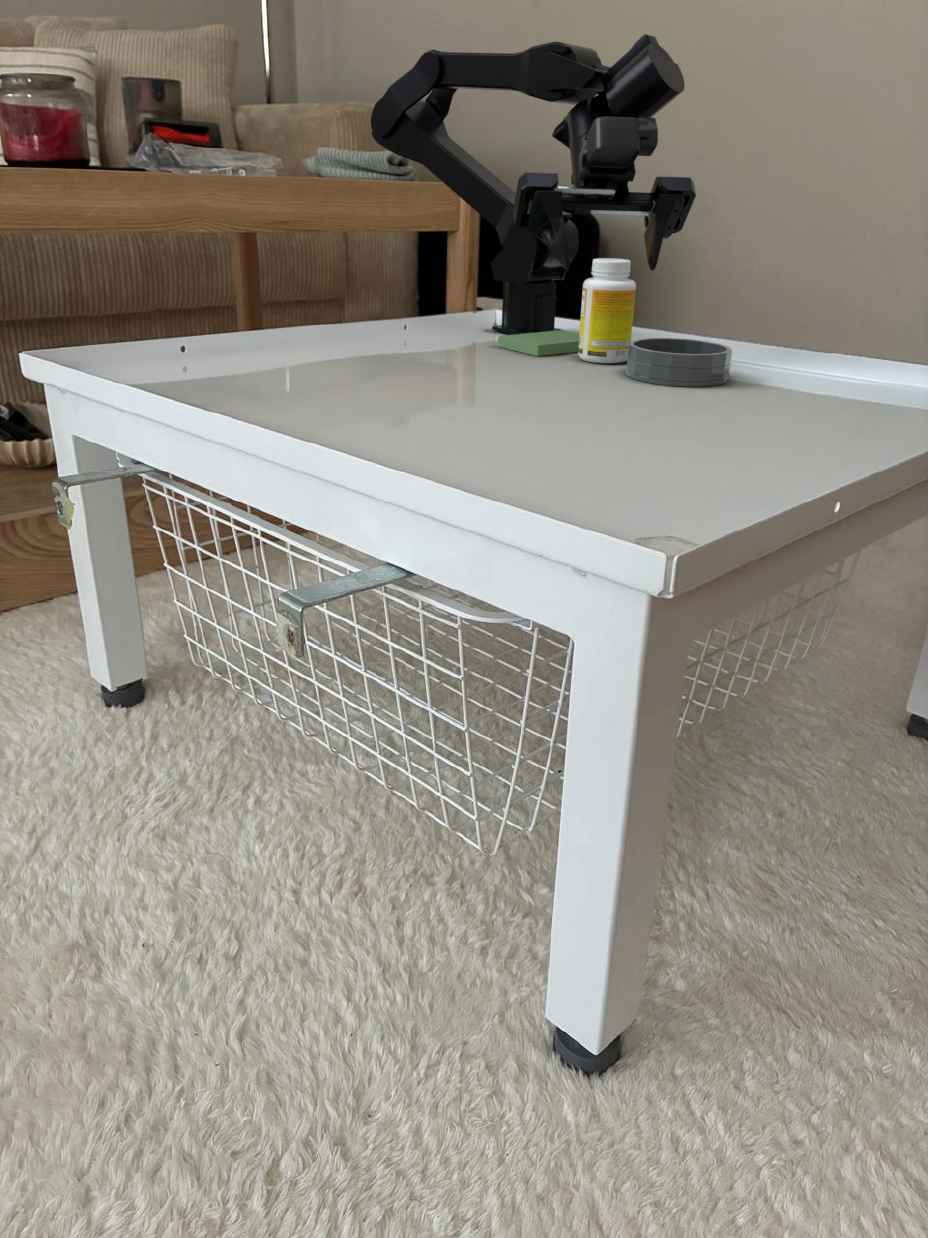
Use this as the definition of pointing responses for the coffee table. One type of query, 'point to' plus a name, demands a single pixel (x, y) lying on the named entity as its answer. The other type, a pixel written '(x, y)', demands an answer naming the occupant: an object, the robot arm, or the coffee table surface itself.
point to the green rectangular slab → (541, 342)
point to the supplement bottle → (607, 312)
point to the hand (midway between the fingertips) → (610, 266)
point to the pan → (678, 362)
